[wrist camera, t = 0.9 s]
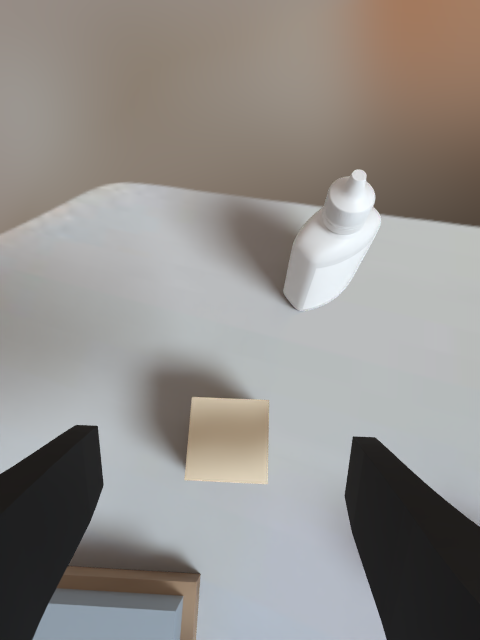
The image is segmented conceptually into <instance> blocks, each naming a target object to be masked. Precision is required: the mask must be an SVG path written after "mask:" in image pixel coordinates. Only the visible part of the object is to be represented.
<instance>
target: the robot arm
mask: <svg viewBox="0 0 480 640" xmlns="http://www.w3.org/2000/svg"><path fill="white" fill-rule="evenodd" d="M102 488H103V475H102V465H101V455H100V445H99V435H98V426H87V425H76V426H74V427H72V428H71V429H69V430H67V431H66V432H64V433H63V434H61V435H60V436H58V437H57V438H55V439H54V440H52V441H51V442H49V443H48V444H46V445H45V446H43V447H42V448H40V449H39V450H37V451H36V452H34V453H33V454H31V455H30V456H28V457H26V458H25V459H23V460H22V461H20V462H19V463H17V464H16V465H14V466H13V467H11V468H10V469H8V470H6V471H5V472H3V473H1V474H0V640H33V637H34V635H35V632H36V630H37V628H38V625H39V623H40V621H41V619H42V616H43V614H44V612H45V610H46V608H47V606H48V604H49V602H50V600H51V598H52V596H53V594H54V592H55V590H56V588H57V586H58V584H59V582H60V580H61V578H62V576H63V574H64V572H65V570H66V568H67V567H68V565H69V563H70V561H71V559H72V557H73V555H74V553H75V551H76V549H77V547H78V545H79V543H80V541H81V539H82V537H83V535H84V533H85V531H86V529H87V527H88V525H89V523H90V521H91V518H92V516H93V513H94V511H95V508H96V505H97V502H98V500H99V497H100V494H101V491H102ZM345 500H346V505H347V511H348V516H349V520H350V525H351V530H352V534H353V537H354V540H355V543H356V546H357V549H358V552H359V555H360V558H361V561H362V564H363V567H364V570H365V573H366V576H367V579H368V582H369V585H370V588H371V591H372V594H373V597H374V600H375V603H376V606H377V609H378V612H379V615H380V618H381V621H382V625H383V628H384V631H385V635H386V638H387V640H480V527H479V526H478V525H476V524H475V523H474V522H472V521H471V520H470V519H468V518H467V517H466V516H464V515H463V514H462V513H461V512H459V511H458V510H457V509H456V508H454V507H453V506H452V505H451V504H449V503H448V502H447V501H446V500H444V499H443V498H442V497H441V496H440V495H439V494H437V493H436V492H435V491H434V490H433V489H431V488H430V487H429V486H428V485H427V484H426V483H425V482H423V481H422V480H421V479H420V478H419V477H418V476H417V475H416V474H414V473H413V472H412V471H411V470H410V469H409V468H408V467H407V466H406V465H405V464H404V463H402V462H401V461H400V460H399V459H398V458H397V457H396V456H395V455H394V454H393V453H392V452H391V451H390V450H388V449H387V448H386V447H385V446H384V445H383V444H382V443H381V442H380V441H378V440H377V439H376V438H375V437H353V440H352V447H351V454H350V462H349V469H348V476H347V483H346V490H345Z"/></svg>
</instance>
